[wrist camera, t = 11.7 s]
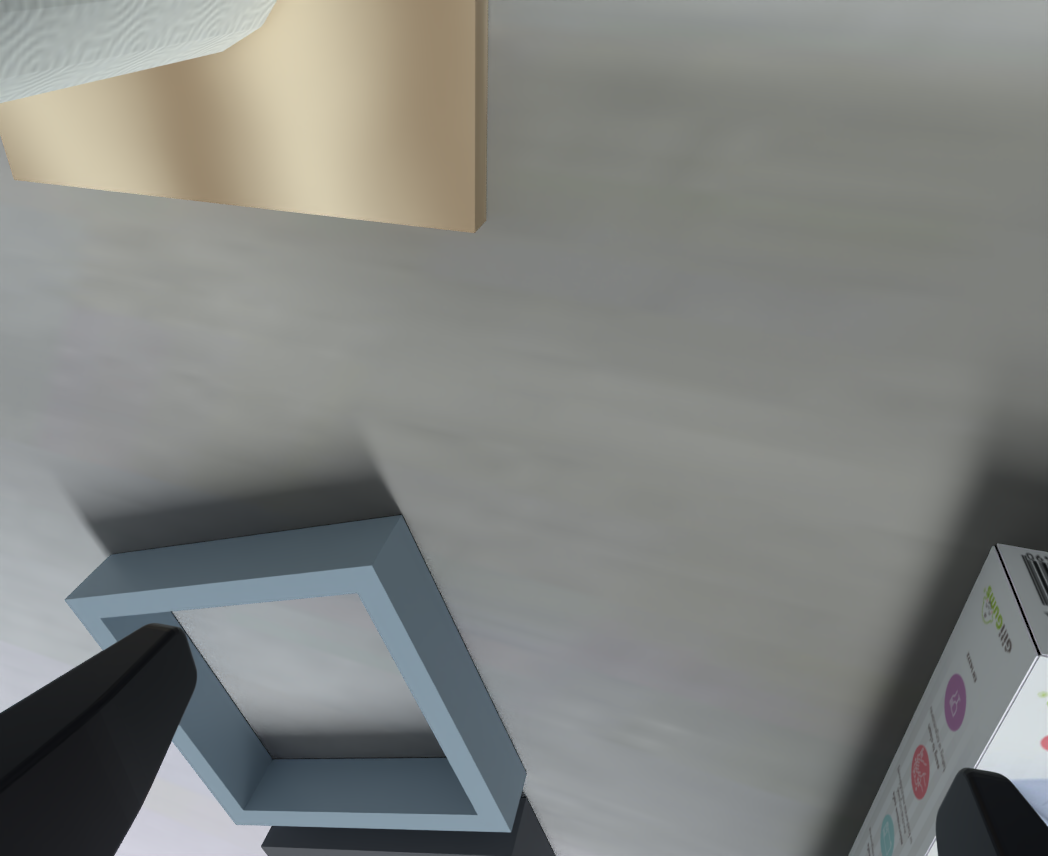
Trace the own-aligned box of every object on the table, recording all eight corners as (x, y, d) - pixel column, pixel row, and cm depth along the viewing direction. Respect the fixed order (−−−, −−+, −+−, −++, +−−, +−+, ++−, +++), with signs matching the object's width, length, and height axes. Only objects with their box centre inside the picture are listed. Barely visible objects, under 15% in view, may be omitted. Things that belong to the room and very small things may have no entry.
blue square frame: (401, 515, 26) (371, 565, 24) (526, 773, 32) (511, 832, 30) (110, 554, 31) (64, 599, 29) (265, 774, 36) (235, 824, 34)
